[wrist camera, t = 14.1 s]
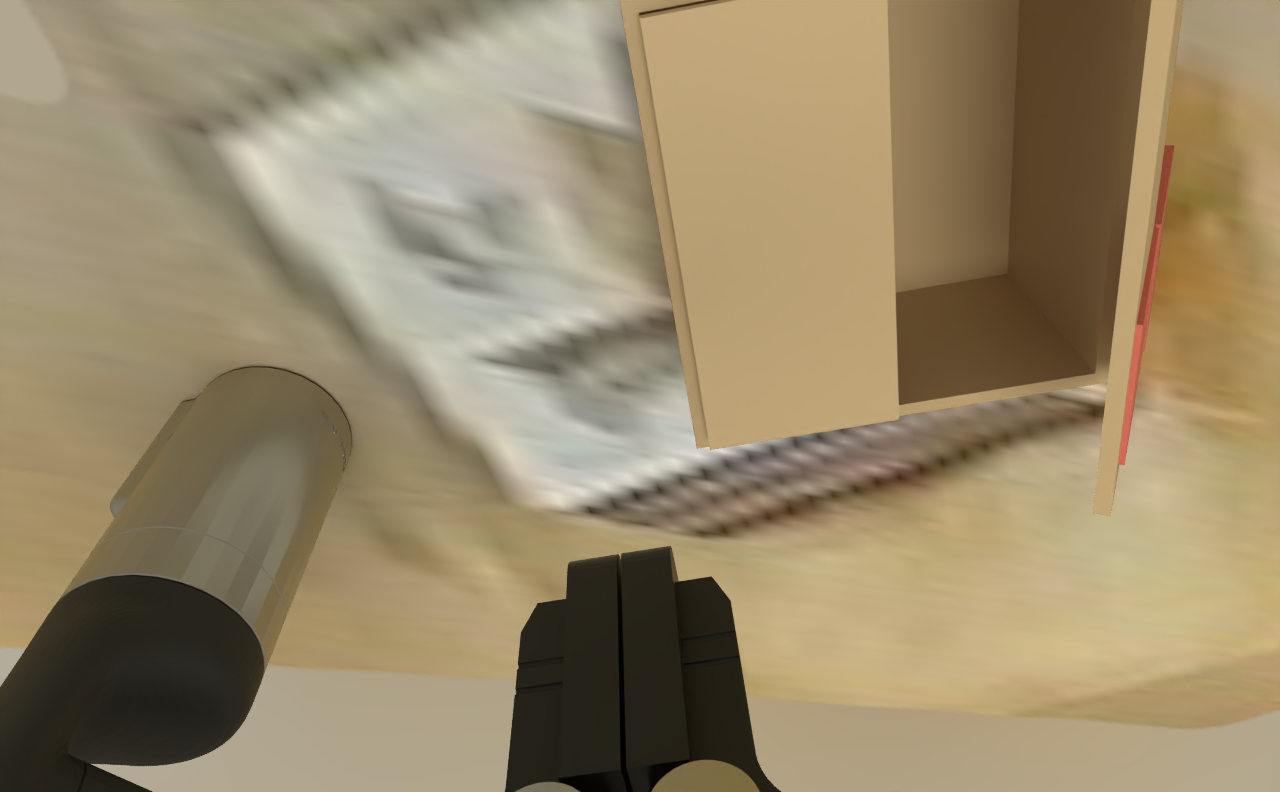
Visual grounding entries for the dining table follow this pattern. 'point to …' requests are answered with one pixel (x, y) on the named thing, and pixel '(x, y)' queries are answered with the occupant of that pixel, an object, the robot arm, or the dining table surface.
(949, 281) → the carton
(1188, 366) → the dining table surface
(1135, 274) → the flap
